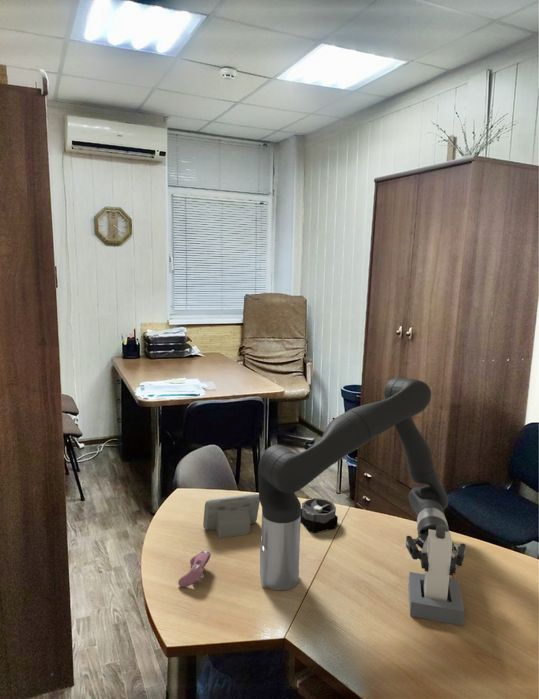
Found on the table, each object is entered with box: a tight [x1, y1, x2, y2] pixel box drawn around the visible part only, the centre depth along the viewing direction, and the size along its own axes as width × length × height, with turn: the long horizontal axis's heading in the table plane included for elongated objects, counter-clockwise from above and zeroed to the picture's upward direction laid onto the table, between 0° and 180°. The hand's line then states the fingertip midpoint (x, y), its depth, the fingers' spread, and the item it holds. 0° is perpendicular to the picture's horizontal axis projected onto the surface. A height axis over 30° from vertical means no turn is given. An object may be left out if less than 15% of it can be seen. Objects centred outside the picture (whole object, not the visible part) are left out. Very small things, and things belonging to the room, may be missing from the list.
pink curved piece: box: [177, 549, 212, 588], centre depth 120 cm, size 10×5×7 cm, turn 169°
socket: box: [407, 571, 465, 627], centre depth 112 cm, size 11×11×4 cm
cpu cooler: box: [300, 497, 339, 534], centre depth 146 cm, size 10×6×10 cm
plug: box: [422, 524, 453, 601], centre depth 111 cm, size 5×5×18 cm
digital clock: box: [202, 492, 261, 539], centre depth 141 cm, size 16×9×11 cm, turn 96°
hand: (439, 569), depth 108 cm, fingers closed on plug, 4 cm apart
